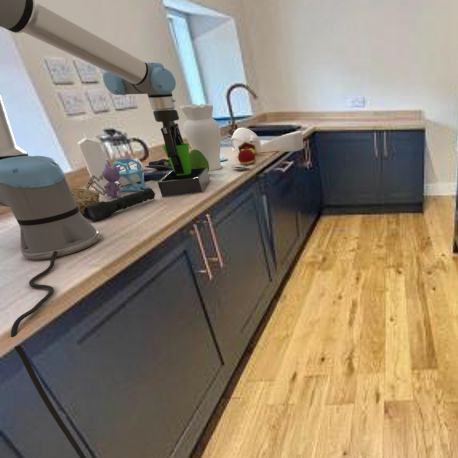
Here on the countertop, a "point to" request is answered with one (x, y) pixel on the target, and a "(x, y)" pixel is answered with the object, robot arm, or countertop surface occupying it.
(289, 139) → the shoe sole
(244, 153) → the figurine
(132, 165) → the ink box
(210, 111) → the vase
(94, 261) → the countertop surface
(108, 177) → the figurine
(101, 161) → the milk
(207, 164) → the fruit
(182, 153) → the cup
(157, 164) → the race car
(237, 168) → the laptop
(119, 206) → the flashlight
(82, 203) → the sponge
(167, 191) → the dark grey open box
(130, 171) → the chair
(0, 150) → the robot arm
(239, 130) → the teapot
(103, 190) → the maze
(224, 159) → the toy
